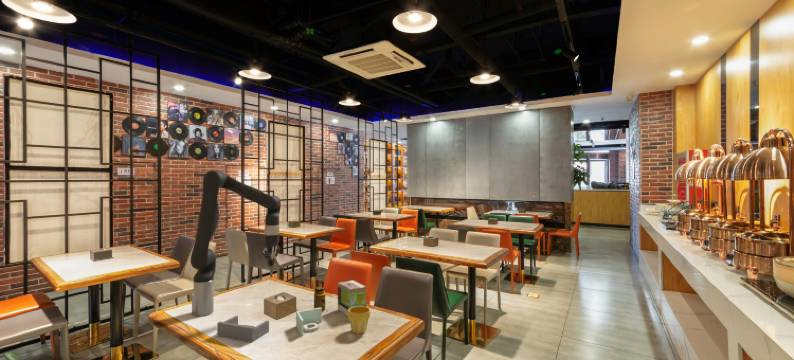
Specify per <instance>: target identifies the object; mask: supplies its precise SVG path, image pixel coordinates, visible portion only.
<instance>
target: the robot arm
mask: <svg viewBox="0 0 794 360" xmlns="http://www.w3.org/2000/svg"><path fill="white" fill-rule="evenodd" d="M220 189H224V190H228V191H230V192H233V193H234V194H236V195H238V196H240V197H241V198H243V199H245V200H247V201H250V202H253V203H255V204H257V205H259V206H261V207H263V208H264V209H267V212H266V215H265V218H264V229H263V230H264V231H263V232H264V234H263V235H264V236H263V237H264V239H263V242H264V243H265V246H264V249H263V250H261V253H262V255H263V257H264V258H265V259H268V261H267V263H268V267H274V264H275V259H276V257H277V256H278V255H279V253H280V250H281V249H282V247H281V246H279V244H278V243H279V242H280V212H281V207H282V201H281V198H280V197H279V196H277V195H270V194H267V193H265V192H264V191H263V190H261V189H259V188H255V187H253V186H251V185H248V184H246V183H243V182H241V181H238V180H237V179H235V178H233V177H231V176H230V175H228V174H226V173H225V172H223V171H222V170H209V171H207V172H206V173H205V174H204V176H203V180H202V197H201V203H200V209H199V214H198V221H197V227H196V228H197V229H196V233H195V240H194V244H193V248H192V252H191V254H190V264H191V267H192V268H193V269H195V270H197V271H196V273H195V274H194V275H193V294H192V296H191V315H193V316H195V317H204V316H209V315H210V314H212V313H214V302H215V301H214V292H215V290H214V288H215V287H214V286H215V285H214V278H215V277H214V276H215V274H216V268H217V267H216V265H217V256H216V253H215V251H214V250H213V249H211V248H209V247H210V242H211V240H212V238H213V236H214V234H215V233H216V230H217V228H218V224H219V219H220V208H219V203H218V194H219V191H220Z"/></svg>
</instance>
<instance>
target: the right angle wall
mask: <svg viewBox="0 0 794 360" xmlns="http://www.w3.org/2000/svg"><path fill="white" fill-rule="evenodd" d="M322 313H323V312H322V308H315V309H313V308H309V309H304V310H303V309H302V310H298V311H296V313H295V315H296V316H295V317H296V318H295V320H296V321H295V326H296V328H297V330H298V331H297V332H298V333H299V334H300V337H303V336H304V332H307V333H312V332H313V333H315V331H317V330H318V329H319V324H320V323H322V322H323V321H322V315H323V314H322Z"/></svg>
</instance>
